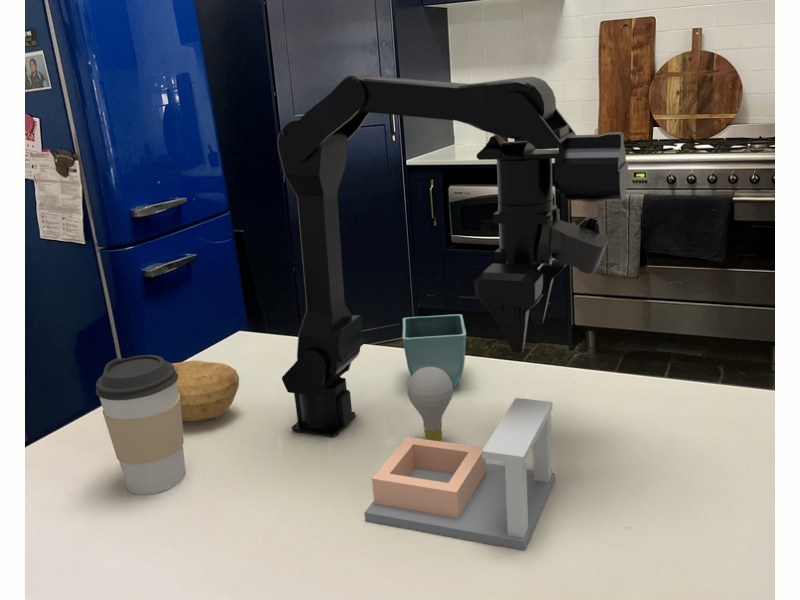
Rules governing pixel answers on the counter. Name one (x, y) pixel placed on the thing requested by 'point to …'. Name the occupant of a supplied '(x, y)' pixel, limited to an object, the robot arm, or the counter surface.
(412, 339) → the flower pot
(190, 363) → the potato
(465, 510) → the socket stand
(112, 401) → the coffee cup
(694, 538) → the counter surface
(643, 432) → the counter surface
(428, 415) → the light bulb
